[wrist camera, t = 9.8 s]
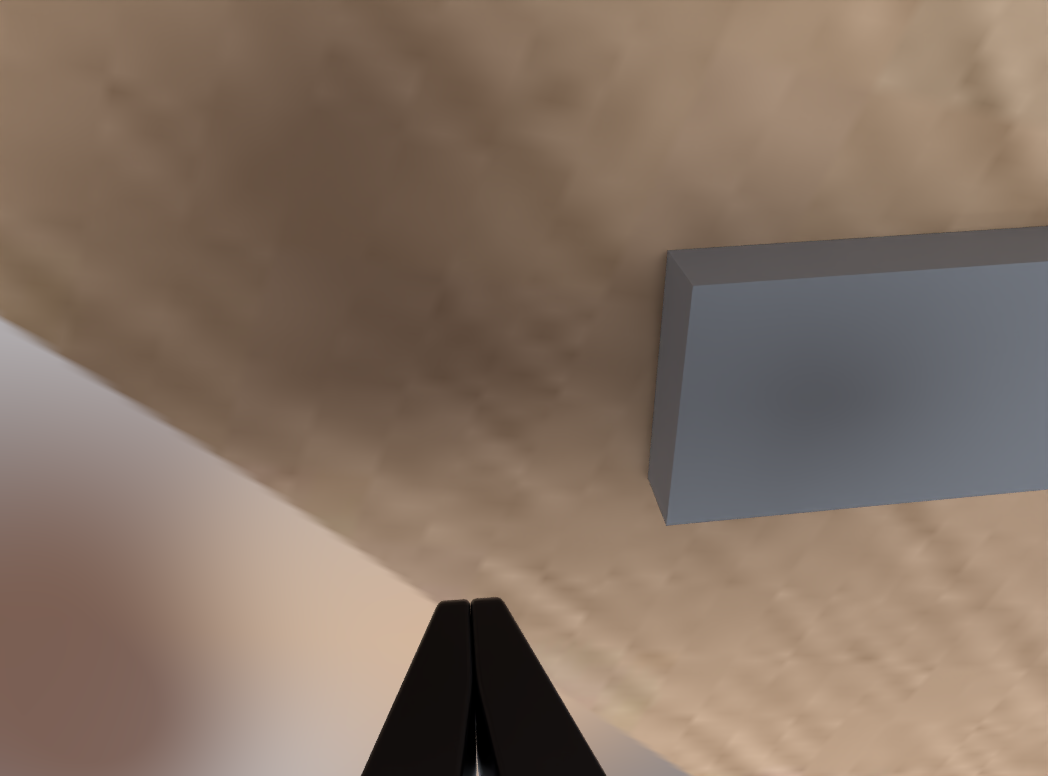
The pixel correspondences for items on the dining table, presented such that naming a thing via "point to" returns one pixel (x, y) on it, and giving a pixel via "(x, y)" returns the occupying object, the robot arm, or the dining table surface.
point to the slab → (851, 374)
